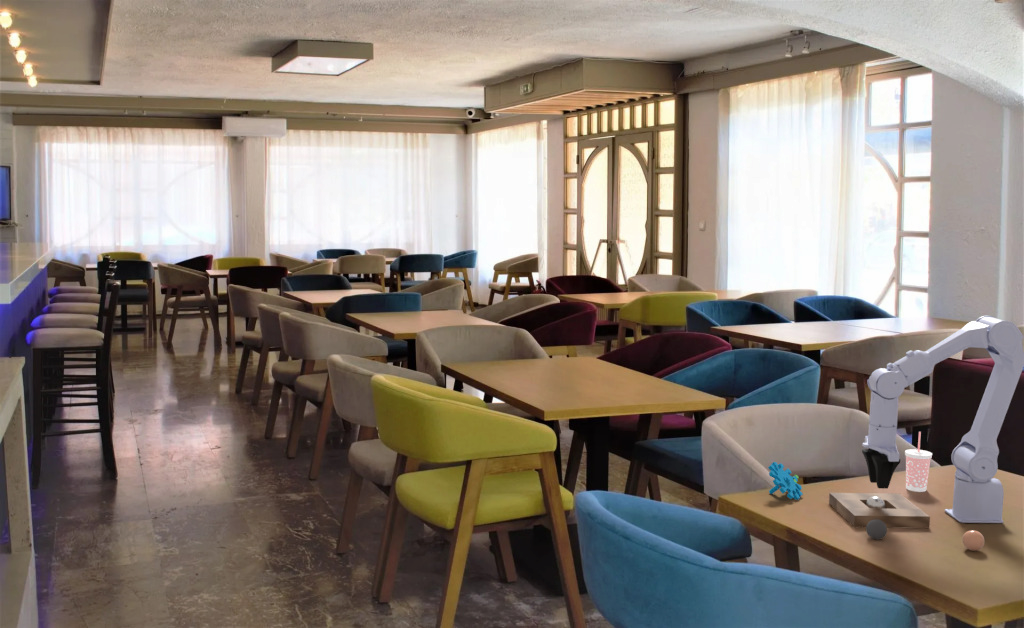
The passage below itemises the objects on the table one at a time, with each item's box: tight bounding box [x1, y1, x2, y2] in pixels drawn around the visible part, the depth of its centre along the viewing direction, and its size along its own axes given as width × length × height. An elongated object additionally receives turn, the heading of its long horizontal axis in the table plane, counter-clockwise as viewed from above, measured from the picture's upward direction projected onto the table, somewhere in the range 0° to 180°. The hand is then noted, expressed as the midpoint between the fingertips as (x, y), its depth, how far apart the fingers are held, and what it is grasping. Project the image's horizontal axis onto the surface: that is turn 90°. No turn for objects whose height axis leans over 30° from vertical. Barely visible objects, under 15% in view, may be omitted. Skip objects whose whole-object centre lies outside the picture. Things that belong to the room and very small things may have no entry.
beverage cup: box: [904, 431, 933, 493], centre depth 235 cm, size 6×6×14 cm
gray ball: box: [865, 519, 888, 540], centre depth 201 cm, size 4×4×4 cm
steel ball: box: [866, 496, 885, 509], centre depth 216 cm, size 4×4×4 cm
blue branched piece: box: [768, 461, 804, 501], centre depth 230 cm, size 11×6×10 cm
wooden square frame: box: [828, 492, 931, 529], centre depth 216 cm, size 16×16×2 cm
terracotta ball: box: [961, 529, 985, 552], centre depth 195 cm, size 4×4×4 cm
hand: (879, 485), depth 215 cm, fingers open, 4 cm apart
